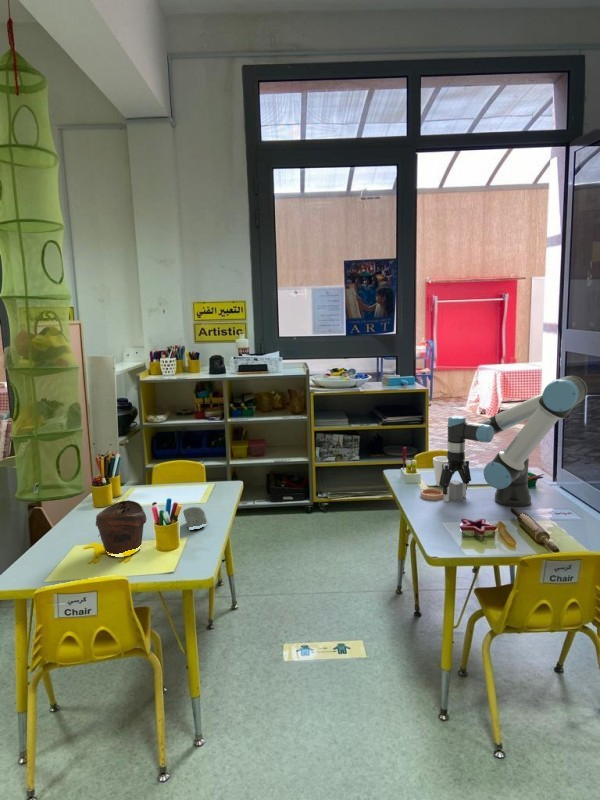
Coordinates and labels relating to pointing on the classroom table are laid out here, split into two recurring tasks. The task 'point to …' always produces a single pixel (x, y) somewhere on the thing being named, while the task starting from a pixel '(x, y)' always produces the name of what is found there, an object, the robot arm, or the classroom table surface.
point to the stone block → (455, 491)
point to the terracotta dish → (432, 494)
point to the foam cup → (439, 467)
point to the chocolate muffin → (121, 526)
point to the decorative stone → (195, 516)
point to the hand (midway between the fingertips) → (454, 498)
